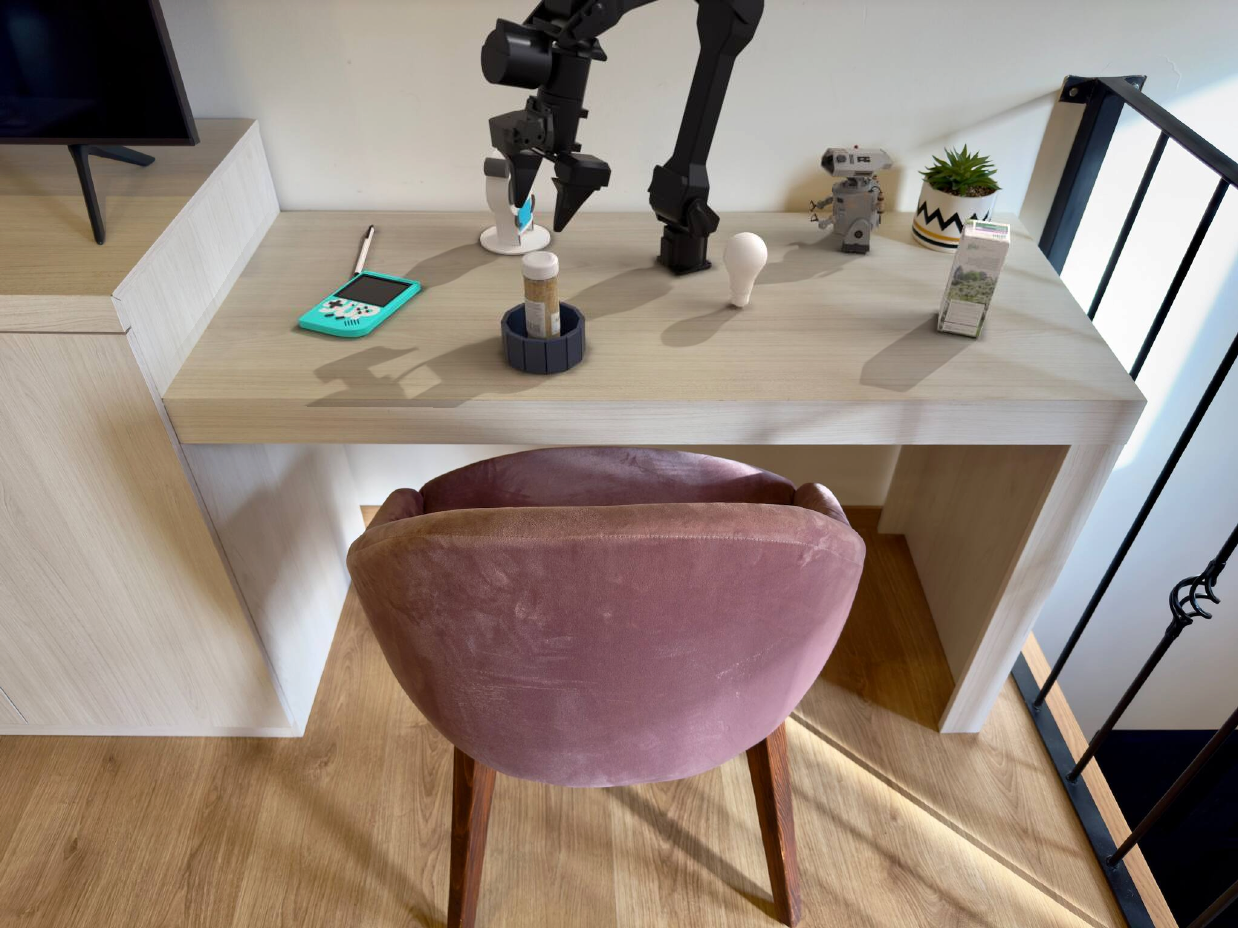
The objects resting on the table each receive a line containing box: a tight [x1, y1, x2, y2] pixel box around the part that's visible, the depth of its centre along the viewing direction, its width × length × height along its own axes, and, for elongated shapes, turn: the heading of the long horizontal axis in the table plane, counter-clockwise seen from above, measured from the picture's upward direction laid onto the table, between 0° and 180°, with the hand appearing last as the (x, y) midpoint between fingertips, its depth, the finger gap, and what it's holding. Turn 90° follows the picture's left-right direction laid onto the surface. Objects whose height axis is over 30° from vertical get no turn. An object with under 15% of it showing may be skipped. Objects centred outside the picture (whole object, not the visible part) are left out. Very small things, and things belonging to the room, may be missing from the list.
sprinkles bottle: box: [520, 250, 560, 340], centre depth 109 cm, size 5×5×14 cm
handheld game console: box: [297, 270, 422, 338], centre depth 122 cm, size 10×16×1 cm, turn 158°
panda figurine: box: [479, 148, 551, 256], centre depth 135 cm, size 12×11×15 cm
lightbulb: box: [722, 231, 768, 308], centre depth 120 cm, size 6×6×11 cm
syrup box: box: [936, 218, 1011, 338], centre depth 115 cm, size 6×6×14 cm
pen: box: [353, 224, 375, 278], centre depth 134 cm, size 1×19×1 cm, turn 5°
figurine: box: [809, 144, 894, 255], centre depth 136 cm, size 9×12×15 cm
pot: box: [500, 300, 586, 375], centre depth 112 cm, size 11×11×5 cm
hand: (537, 219), depth 112 cm, fingers open, 9 cm apart
